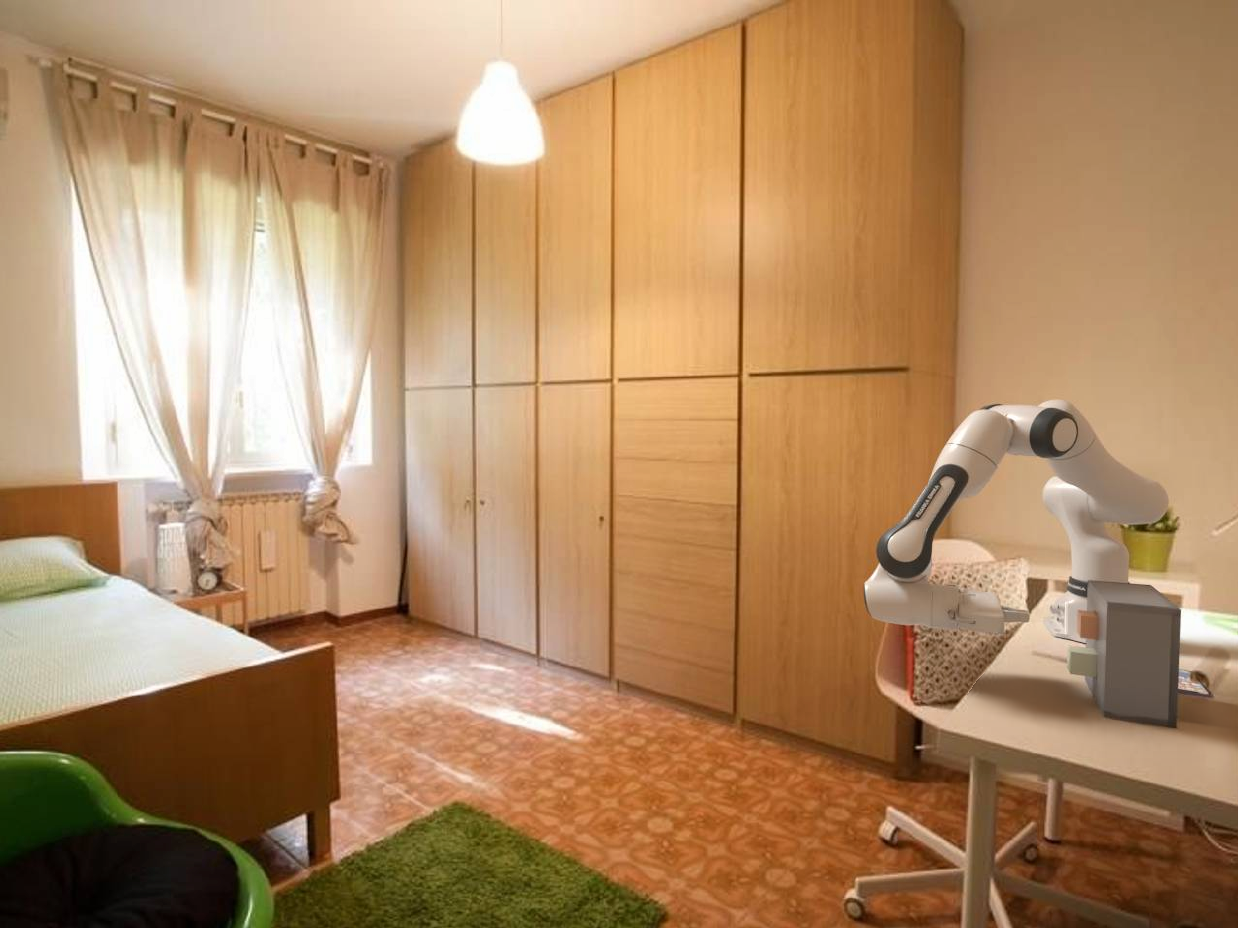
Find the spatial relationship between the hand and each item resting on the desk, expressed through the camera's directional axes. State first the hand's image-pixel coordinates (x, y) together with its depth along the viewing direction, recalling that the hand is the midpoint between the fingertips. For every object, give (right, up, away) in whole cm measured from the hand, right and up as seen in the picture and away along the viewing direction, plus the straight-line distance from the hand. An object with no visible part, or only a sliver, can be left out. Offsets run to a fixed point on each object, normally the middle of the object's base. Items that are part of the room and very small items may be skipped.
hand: (1028, 616), depth 130 cm
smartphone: (+32, -14, +4) cm, 35 cm away
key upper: (+10, -3, -4) cm, 11 cm away
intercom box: (+14, -14, -6) cm, 21 cm away
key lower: (+8, -10, -3) cm, 13 cm away
